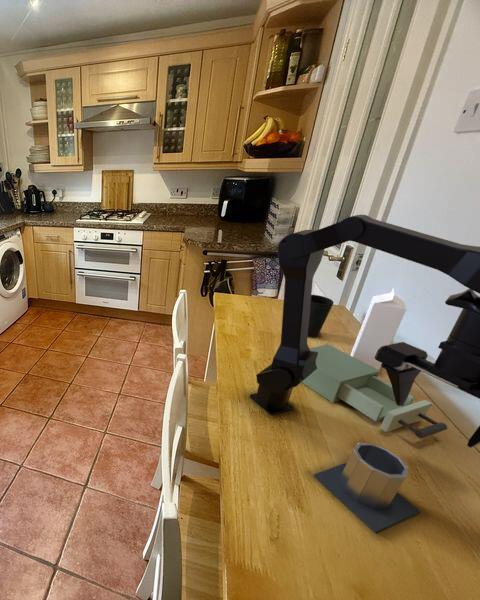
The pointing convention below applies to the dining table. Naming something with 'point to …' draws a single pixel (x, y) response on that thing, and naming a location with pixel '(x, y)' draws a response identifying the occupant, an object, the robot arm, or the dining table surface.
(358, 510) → the pad
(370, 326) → the milk
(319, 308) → the cup
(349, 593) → the dining table surface
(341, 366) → the sage green angled casing
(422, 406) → the drawer
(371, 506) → the tumbler
